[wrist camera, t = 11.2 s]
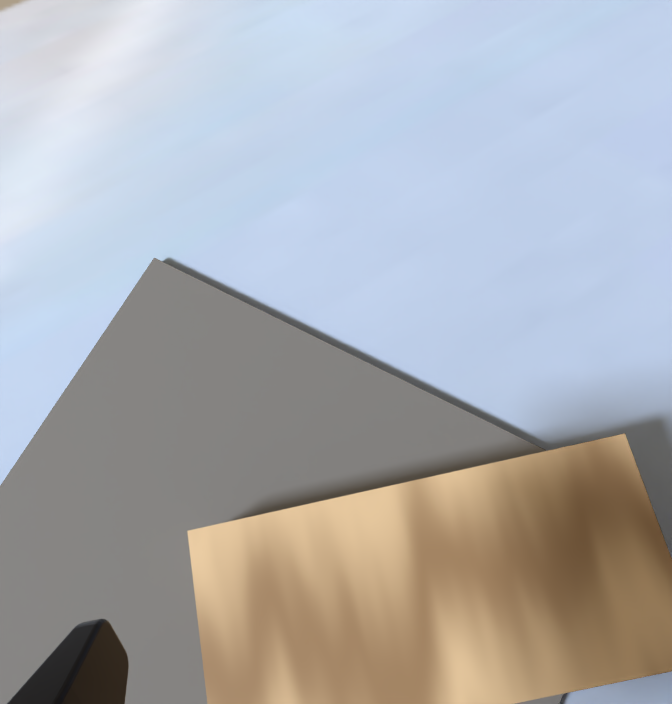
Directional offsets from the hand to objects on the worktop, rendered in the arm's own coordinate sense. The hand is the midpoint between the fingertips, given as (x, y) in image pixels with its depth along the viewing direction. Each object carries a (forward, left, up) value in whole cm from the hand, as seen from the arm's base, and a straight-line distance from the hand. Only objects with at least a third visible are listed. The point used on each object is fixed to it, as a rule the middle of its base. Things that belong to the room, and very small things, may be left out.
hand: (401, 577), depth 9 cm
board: (+4, +5, -9) cm, 11 cm away
